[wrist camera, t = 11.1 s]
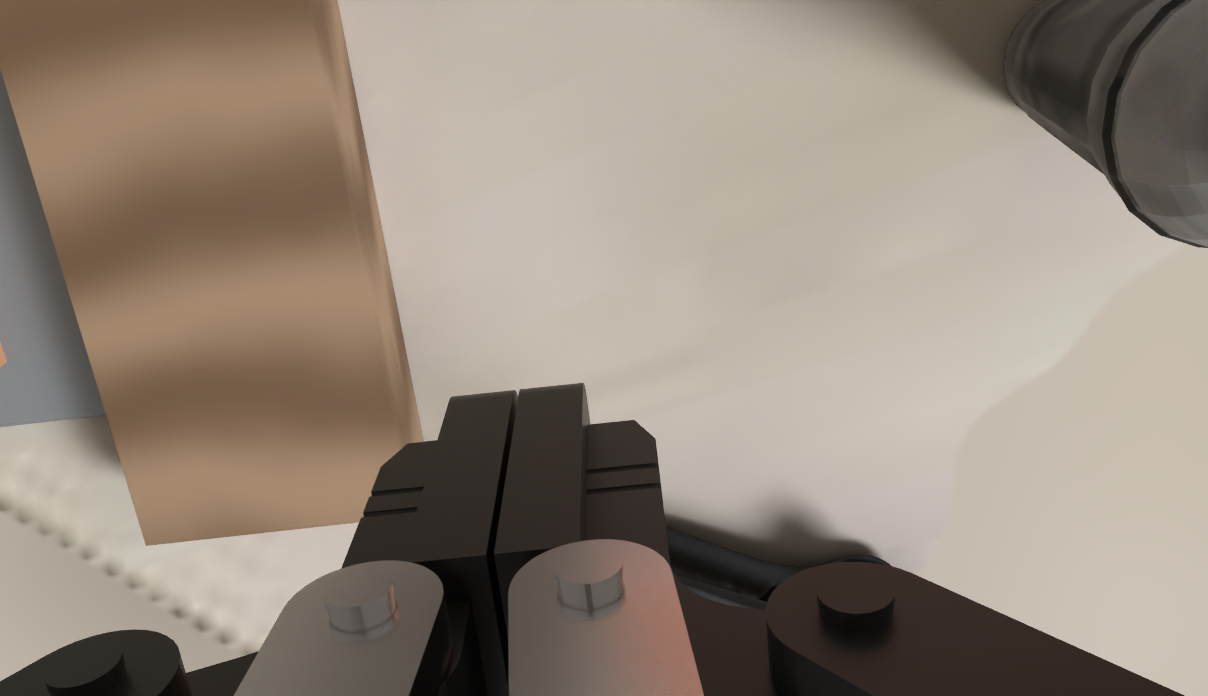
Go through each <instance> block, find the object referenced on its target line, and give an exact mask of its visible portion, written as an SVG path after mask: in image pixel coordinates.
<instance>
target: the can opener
mask: <svg viewBox="0 0 1208 696" xmlns="http://www.w3.org/2000/svg"><path fill="white" fill-rule="evenodd" d="M666 533H667V542H668V550H669V559H670V564H671V568H672V570H673V572H674V574H675V576H676V577H677V578H678V579H679V580H680V582H681V583H682V584H683V585H685V586H686V587H687V588H689V589H690V590H691V591H693V592H695V593H697V594H699V595H700V596H702V597H705V598H707V599H710V600H713V601H715V602H719V603H723V604H727V605H731V606H738V607H744V608H753V609H762V610H766V605H767V602H768V599H769V597H770V595H771V594H772V592H773V591H774V590H775V589H776V588H777V587H778V585H779V584H780V583H782V582H783V581H785V580H786V579H787V578H789V577H791V576H793V575H794V574H796V573H798V572H800V571H803V570H806V569H809V567H793V566H785V565H779V564H774V563H769V562H765V561H762V560H758V559H755V558H752V557H749V556H746V555H743V554H741V553H738V552H735V551H732V550H729V549H727V548H724V547H721V546H718V545H715V544H713V543H710V542H707V541H704V540H702V539H698V538H696V537H693V536H690V535H687V534H685V533H681V532H678V531H675V530H673V529H670V528H667V527H666ZM838 562H869V563H876V564H883V565H888V566H891V565H890V564H888V563H887V562H886V561H884V560H881V559H879V558H877V557H874V556H869V555H856V556H852V557H848V558H844V559H841V560H838V561H835V562H832V563H838ZM829 564H830V563H829ZM891 567H892V566H891Z"/></svg>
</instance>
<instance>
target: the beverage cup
mask: <svg viewBox="0 0 1208 696" xmlns="http://www.w3.org/2000/svg"><path fill="white" fill-rule="evenodd" d="M1003 71H1004V76H1005V81H1006V86H1007V89H1008V91H1009V93H1010V94H1011V96H1012V98H1013V99H1014V101H1015V103H1016V104H1017V105H1018V106H1019V107H1020V108H1021V109H1023V110H1024V111H1025V112H1026V113H1027V115H1028V116H1029V117H1030V118H1031V119H1032V120H1034V121H1035V122H1036V123H1038V124H1039V125H1040V126H1041V127H1043V128H1044V129H1045V130H1046V131H1048V132H1049V133H1050V134H1052V135H1053V136H1054V137H1056V138H1057V139H1058V140H1060V141H1061V142H1062V143H1063V144H1065V145H1066V146H1067V147H1069V148H1070V149H1071V150H1073V151H1074V152H1075V153H1077V154H1078V155H1079V156H1080V157H1082V158H1083V159H1084V160H1086V161H1087V162H1088V163H1090V164H1091V165H1092V166H1094V167H1095V168H1096V169H1098V170H1099V171H1100V172H1101V173H1103V174H1104V175H1105V176H1106V178H1107V180H1108V181H1109V183H1110V184H1111V186H1112V187H1113V188H1114V190H1115V191H1116V192H1117V193H1118V195H1119V196H1120V197H1121V199H1122V200H1123V202H1124V203H1125V205H1126V207H1127V208H1128V210H1129V211H1130V212H1131V213H1132V214H1134V215H1135V216H1136V217H1137V218H1139V219H1140V220H1141V221H1142V222H1144V223H1145V224H1146V225H1148V226H1149V227H1150V228H1151V229H1153V230H1154V231H1155V232H1156V233H1158V234H1159V235H1161V236H1164V237H1167V238H1171V239H1174V240H1177V241H1180V242H1183V243H1186V244H1189V245H1193V246H1196V247H1203V248H1208V0H1044V1H1042V2H1041V3H1039V4H1038V5H1037V6H1035V7H1034V8H1032V9H1031V10H1030V11H1028V12H1027V13H1026V15H1025V16H1024V17H1023V18H1022V20H1021V21H1020V22H1019V23H1018V25H1017V26H1016V27H1015V28H1014V30H1013V33H1012V35H1011V37H1010V40H1009V42H1008V44H1007V47H1006V49H1005V58H1004V67H1003Z"/></svg>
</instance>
